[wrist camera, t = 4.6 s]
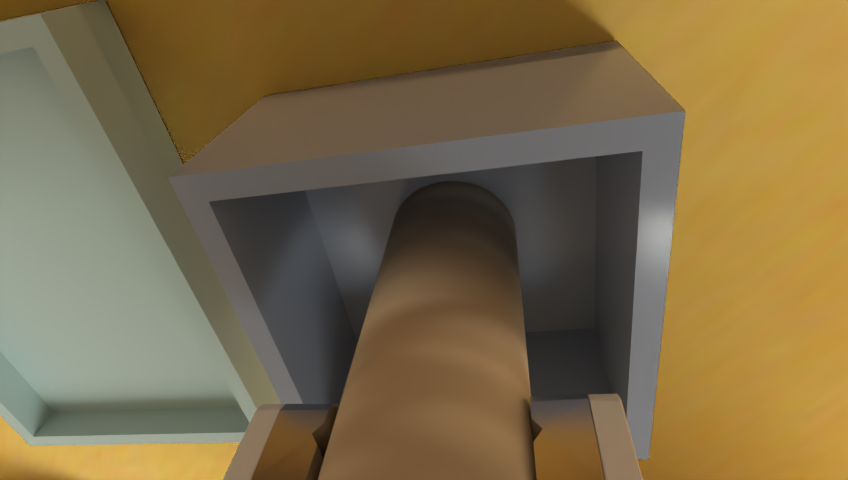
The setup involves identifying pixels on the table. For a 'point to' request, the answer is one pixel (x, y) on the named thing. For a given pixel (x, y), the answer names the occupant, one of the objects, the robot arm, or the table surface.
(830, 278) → the table surface
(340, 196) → the grey open box
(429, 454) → the dowel
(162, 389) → the tray
